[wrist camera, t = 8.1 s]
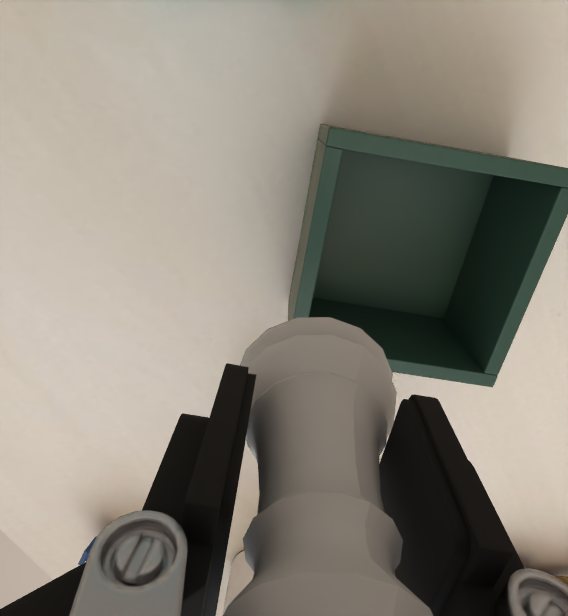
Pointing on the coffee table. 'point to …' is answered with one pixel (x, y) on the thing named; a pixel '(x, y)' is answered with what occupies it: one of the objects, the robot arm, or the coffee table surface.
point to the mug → (238, 578)
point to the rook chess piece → (321, 476)
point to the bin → (425, 248)
